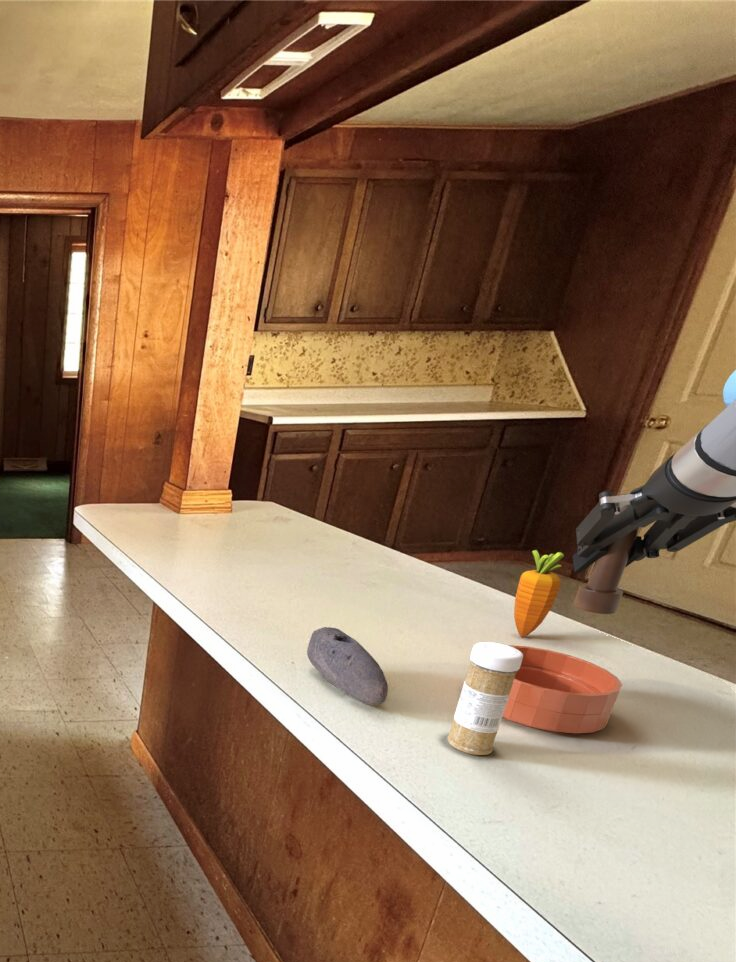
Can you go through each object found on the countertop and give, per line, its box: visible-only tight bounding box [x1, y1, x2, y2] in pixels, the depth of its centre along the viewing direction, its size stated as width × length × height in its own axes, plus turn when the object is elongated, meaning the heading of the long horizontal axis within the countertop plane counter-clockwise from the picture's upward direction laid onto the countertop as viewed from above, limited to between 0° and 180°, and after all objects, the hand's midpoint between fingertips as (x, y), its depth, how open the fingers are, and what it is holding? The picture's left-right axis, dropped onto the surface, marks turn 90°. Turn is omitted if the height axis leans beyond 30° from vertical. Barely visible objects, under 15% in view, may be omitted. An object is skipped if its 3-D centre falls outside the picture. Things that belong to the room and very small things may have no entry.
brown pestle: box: [572, 493, 641, 615], centre depth 90 cm, size 4×4×16 cm
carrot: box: [513, 549, 565, 638], centre depth 106 cm, size 5×5×15 cm
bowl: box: [502, 644, 623, 734], centre depth 88 cm, size 14×14×6 cm
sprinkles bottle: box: [446, 641, 523, 756], centre depth 79 cm, size 5×5×13 cm
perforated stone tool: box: [306, 626, 389, 707], centre depth 94 cm, size 15×5×7 cm, turn 1°
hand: (593, 565), depth 94 cm, fingers closed on brown pestle, 3 cm apart
